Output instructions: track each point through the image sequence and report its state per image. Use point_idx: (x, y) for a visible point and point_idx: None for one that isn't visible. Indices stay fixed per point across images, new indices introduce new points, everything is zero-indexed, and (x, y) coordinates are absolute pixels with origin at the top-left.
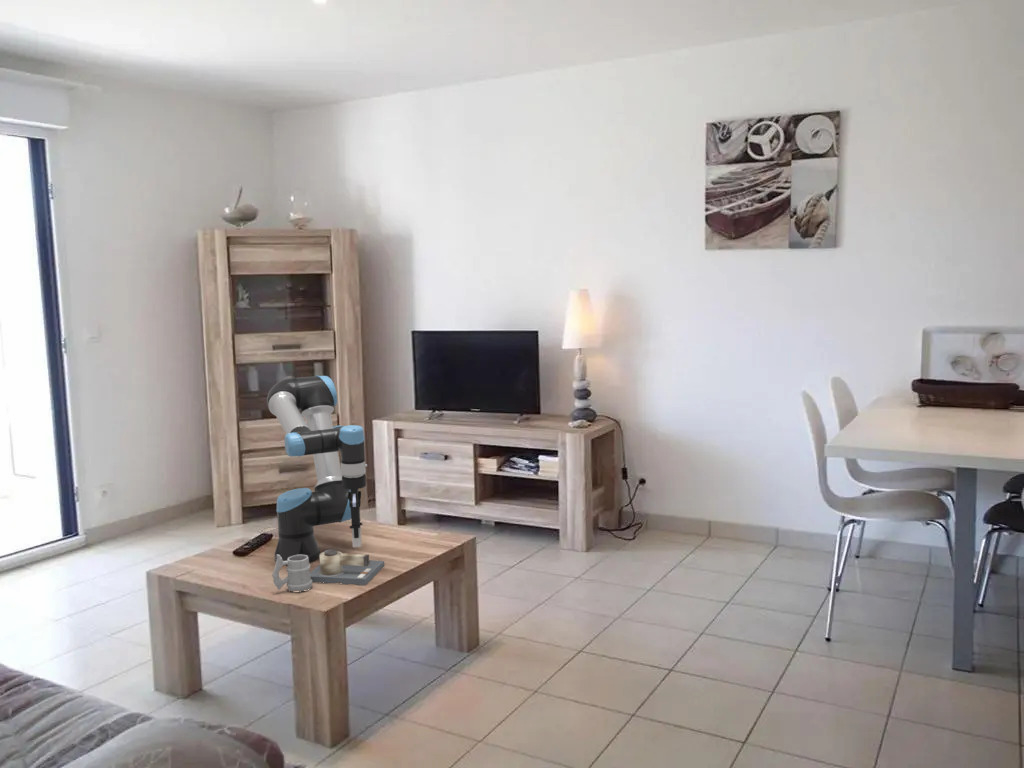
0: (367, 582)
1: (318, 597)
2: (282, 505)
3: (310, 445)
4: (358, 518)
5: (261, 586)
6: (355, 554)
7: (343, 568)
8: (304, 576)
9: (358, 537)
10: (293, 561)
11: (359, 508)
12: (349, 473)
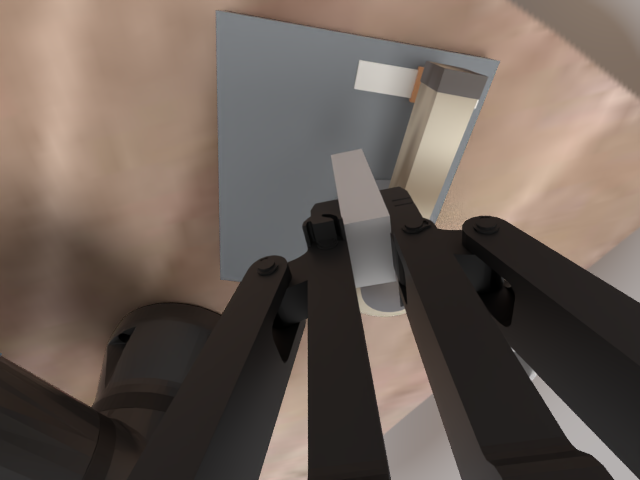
0: (462, 53)
1: (557, 216)
2: None
3: None
4: (610, 292)
5: (411, 366)
6: (420, 161)
7: None
8: None
9: (400, 189)
10: (535, 376)
11: (233, 385)
12: None
